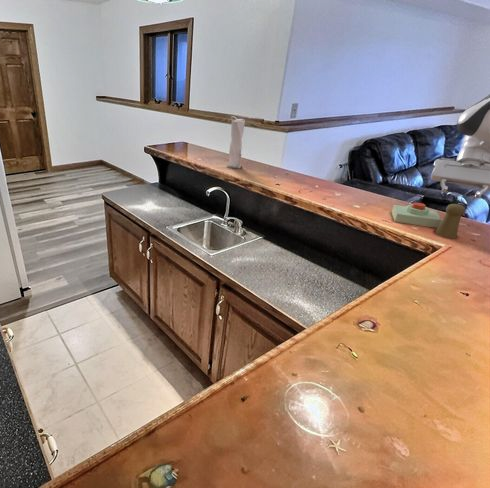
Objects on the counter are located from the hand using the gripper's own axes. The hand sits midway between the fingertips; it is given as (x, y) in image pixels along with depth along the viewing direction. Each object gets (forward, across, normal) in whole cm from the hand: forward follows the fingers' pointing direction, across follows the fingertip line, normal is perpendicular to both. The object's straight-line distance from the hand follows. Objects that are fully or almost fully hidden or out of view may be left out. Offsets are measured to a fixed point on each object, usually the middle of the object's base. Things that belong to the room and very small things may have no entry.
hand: (460, 194), depth 123 cm
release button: (+5, -10, +6) cm, 13 cm away
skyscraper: (-11, -103, +30) cm, 108 cm away
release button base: (+8, -10, +10) cm, 16 cm away
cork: (+15, 0, +3) cm, 15 cm away
